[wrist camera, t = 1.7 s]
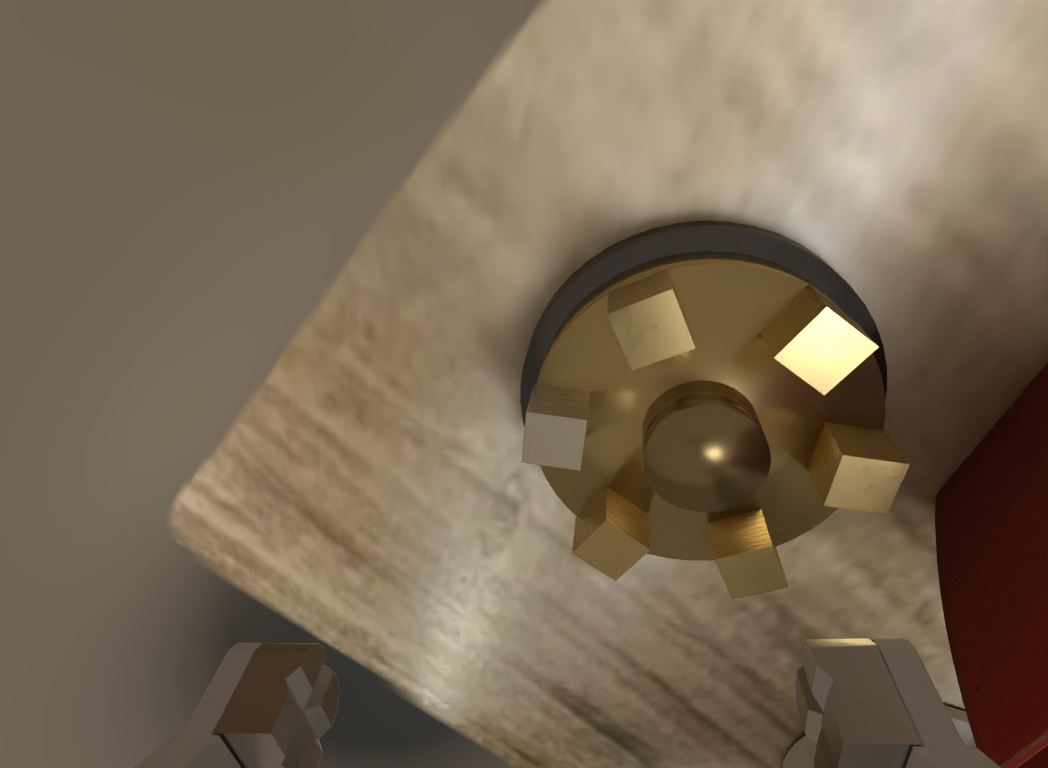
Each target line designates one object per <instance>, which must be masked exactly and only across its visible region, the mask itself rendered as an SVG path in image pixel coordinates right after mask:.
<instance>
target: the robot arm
mask: <svg viewBox="0 0 1048 768" xmlns="http://www.w3.org/2000/svg"><path fill="white" fill-rule="evenodd" d="M800 657H801V660H802V663H803V667H801V668H800V669H799V670H798V671H797V674H796V684H795V686H796V698H797V705H798V710H799V715H800V719H801V722H802V726H803V729H804V733H805V734H806V736H804V737H803V738H801V739H800V740H799V741H798V742H797V743H795V744H794V745H793V747H792V748H791V749H790V750H789V752H788V753H787V755H786V757H785V759H784V761H783V765H782V768H1001V767H999V766H998V765H997V764H996V763H995V762H993V761H992V760H991V759H990V758H989V757H987V756H986V755H985V754H984V753H983V752H981V751H980V750H979V749H978V748H977V747H976V744H975V741H974V738H973V734H972V731H971V728H970V725H969V721H968V717H967V714H966V712H965V711H962V710H959V709H955V708H952V707H949V706H946V705H944V704H943V702H942V700H941V698H940V696H939V694H938V692H937V690H936V688H935V686H934V684H933V682H932V680H931V678H930V676H929V675H928V673H927V671H926V669H925V667H924V665H923V663H922V661H921V659H920V657H919V655H918V653H917V651H916V649H915V647H914V646H913V645H912V644H911V643H910V642H909V641H908V640H906V639H871V640H870V639H869V638H862V639H818V640H804V641H803V642H802V643H801V648H800ZM325 658H326V654H325V652H324V650H323V648H322V646H321V644H292V643H291V644H290V643H289V644H288V643H287V644H286V643H283V644H282V643H237V644H236V645H234V646H233V647H232V648H231V649H230V650H229V651H228V652H227V654H226V656H225V658H224V660H223V661H222V663H221V665H220V667H219V669H218V670H217V672H216V674H215V676H214V677H213V679H212V681H211V683H210V685H209V686H208V688H207V690H206V692H205V694H204V695H203V697H202V699H201V701H200V702H199V704H198V706H197V708H196V710H195V711H194V713H193V715H192V717H191V719H190V720H189V722H188V724H187V726H186V728H185V730H184V731H183V733H182V734H174V735H172V736H171V737H170V738H169V739H168V740H167V741H165V742H164V743H163V744H162V745H161V746H159V747H158V748H157V749H156V750H155V751H154V752H152V753H151V754H150V755H149V756H147V757H146V758H145V759H144V760H143V761H142V762H140V763H139V764H138V765H137V766H136V767H134V768H317V766H318V764H319V761H320V758H321V755H322V750H321V746H320V742H319V738H320V737H321V736H322V735H323V734H325V733H326V732H327V731H328V729H329V728H330V727H332V724H333V721H334V718H335V715H336V712H337V708H338V699H339V685H338V679H337V677H336V674H335V672H334V671H333V670H332V669H330V668H329V667H327V666H326V665H324V664H323V663H324V660H325Z"/></svg>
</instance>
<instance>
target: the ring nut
mask: <svg viewBox="0 0 1048 768" xmlns="http://www.w3.org/2000/svg"><path fill="white" fill-rule="evenodd" d="M877 348H879V346H878V345H877V344H876V343H875V342H874V341H873V340H872V339H871V337H870V336H869V335H868V334H867V333H866V332H865V331H864V330H863V329H862V327H861V326H860V325H859V324H858V323H857V322H856V321H855V320H854V319H852V318H851V317H850V316H849V315H847V314H846V313H845V312H843V311H842V309H841V308H840V307H839V306H838V305H837V304H836V303H835V302H834V300H833V299H831V298H830V297H829V296H828V295H827V294H826V293H825V292H824V291H823V290H821V289H820V288H819V287H818V286H817V285H815V284H814V283H812V282H811V281H809V280H808V279H806V278H805V277H803V276H802V275H800V274H799V273H797V272H795V271H793V270H791V269H788V268H786V267H784V266H782V265H780V264H778V263H775V262H772V261H769V260H765V259H762V258H759V257H756V256H751V255H745V254H739V253H734V252H718V251H701V252H688V253H680V254H675V255H670V256H665V257H661V258H657V259H654V260H651V261H648V262H645V263H642V264H639V265H636V266H634V267H632V268H630V269H628V270H626V271H624V272H622V273H620V274H618V275H616V276H614V277H613V278H611V279H610V280H608V281H606V282H605V283H603V284H602V285H600V286H599V287H597V288H596V289H595V290H594V291H592V292H591V293H590V294H589V295H588V296H587V297H585V298H584V299H583V300H582V301H581V302H580V303H579V304H578V305H577V306H576V307H575V308H574V309H573V310H572V312H571V313H570V314H569V315H568V316H567V317H566V318H565V320H564V321H563V323H562V324H561V326H560V327H559V329H558V330H557V332H556V333H555V335H554V337H553V339H552V341H551V343H550V345H549V347H548V349H547V351H546V354H545V357H544V360H543V363H542V366H541V369H540V373H539V376H538V380H537V384H534V386H533V389H532V393H531V397H530V400H529V404H528V407H527V411H526V420H525V432H524V443H523V455H522V462H523V463H530V464H537V465H540V466H541V468H542V470H543V472H544V475H545V477H546V479H547V480H548V482H549V484H550V485H551V487H552V488H553V490H554V492H555V493H556V494H557V496H558V497H559V498H560V499H561V500H562V502H563V503H564V504H565V505H566V506H567V508H568V509H570V510H571V511H572V512H573V513H574V514H575V515H576V516H577V517H576V520H575V530H574V540H573V549H572V554H574V555H575V556H577V557H579V558H580V559H582V560H583V561H585V562H587V563H588V564H590V565H591V566H593V567H594V568H596V569H598V570H599V571H601V572H602V573H604V574H605V575H607V576H609V577H610V578H612V579H613V580H615V581H616V580H617V579H618V578H619V577H620V576H621V575H623V574H624V573H625V572H626V571H627V570H628V569H629V568H630V567H632V566H633V565H634V564H635V563H636V562H637V561H638V560H640V559H641V558H642V557H643V556H644V555H645V554H646V553H647V554H651V555H656V556H661V557H666V558H673V559H682V560H715V561H716V563H717V566H718V568H719V570H720V572H721V575H722V577H723V579H724V582H725V584H726V586H727V588H728V591H729V593H730V595H731V597H732V599H737V598H741V597H746V596H750V595H755V594H760V593H764V592H769V591H773V590H778V589H782V588H787V587H788V584H787V581H786V578H785V574H784V571H783V568H782V565H781V562H780V558H779V555H778V552H777V549H776V546H778V545H781V544H783V543H786V542H788V541H790V540H792V539H794V538H796V537H798V536H800V535H802V534H803V533H805V532H807V531H809V530H810V529H812V528H813V527H815V526H816V525H818V524H819V523H821V522H822V521H823V520H825V519H826V518H827V517H828V516H830V515H831V514H832V513H833V512H834V511H835V510H837V509H838V508H843V509H850V510H857V511H864V512H871V513H878V514H885V515H887V514H888V512H889V510H890V508H891V506H892V503H893V501H894V499H895V497H896V494H897V492H898V490H899V488H900V485H901V483H902V481H903V479H904V476H905V474H906V472H907V470H908V467H909V465H910V464H909V462H908V461H907V460H906V458H905V457H904V455H903V454H902V453H901V451H900V450H899V448H898V447H897V446H896V444H895V443H894V441H893V440H892V439H891V437H890V436H889V434H888V433H887V432H886V430H883V426H884V420H885V392H884V387H883V381H882V375H881V372H880V370H879V367H878V364H877V361H876V358H875V356H874V354H873V352H874V351H875V350H876V349H877Z"/></svg>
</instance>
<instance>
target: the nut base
mask: <svg viewBox="0 0 1048 768" xmlns="http://www.w3.org/2000/svg"><path fill="white" fill-rule="evenodd" d="M701 251H718V252H734V253H739V254H745V255H751V256H756V257H759V258H762V259H765V260H769V261H772V262H775V263H778V264H780V265H782V266H784V267H786V268H788V269H791V270H793V271H795V272H797V273H799V274H800V275H802V276H803V277H805V278H806V279H808V280H809V281H811V282H812V283H814V284H815V285H817V286H818V287H819V288H820V289H821V290H823V291H824V292H825V293H826V294H827V295H828V296H829V297H830V298H831V299H833V300H834V302H835V303H836V304H837V305H838V306H839V307H840V308H841V309H842V311H843V312H845V313H846V314H847V315H849V316H850V317H851V318H852V319H854V320H855V321H856V322H857V323H858V324H859V325H860V326H861V327H862V329H863V330H864V331H865V332H866V333H867V334H868V335H869V336H870V337H871V339H872V340H873V341H874V342H875V343H876V344H877V345H878V346H879V348H877V349H876V350H875V351H874V352H873V354H874V356H875V358H876V361H877V364H878V367H879V370H880V372H881V375H882V381H883V387H884V392H885V397H886V391H887V366H886V360H885V354H884V348H883V344H882V341H881V338H880V335H879V332H878V330H877V327H876V324H875V322H874V320H873V319H872V317H871V315H870V313H869V311H868V310H867V308H866V306H865V304H864V303H863V302H862V300H861V299H860V298H859V297H858V295H857V294H856V293H855V291H854V290H853V289H852V288H851V286H850V285H849V284H848V283H847V282H846V281H845V280H844V279H843V278H842V277H841V276H840V275H839V274H838V273H836V272H835V271H834V270H833V269H832V268H831V267H830V266H829V265H828V264H827V263H826V262H825V261H823V260H822V259H821V258H820V257H819V256H817V255H816V254H814V253H813V252H811V251H810V250H808V249H807V248H805V247H804V246H802V245H801V244H799V243H797V242H794V241H792V240H790V239H788V238H786V237H784V236H782V235H780V234H777V233H774V232H771V231H768V230H765V229H761V228H758V227H755V226H750V225H744V224H738V223H732V222H718V221H697V222H686V223H677V224H672V225H667V226H663V227H658V228H653V229H650V230H648V231H645V232H642V233H639V234H636V235H633V236H631V237H628V238H626V239H624V240H622V241H620V242H618V243H616V244H614V245H612V246H610V247H608V248H606V249H605V250H603V251H602V252H600V253H599V254H598V255H596V256H595V257H593V258H592V259H590V260H589V261H587V262H586V263H585V264H584V265H583V266H581V267H580V268H579V269H578V270H577V271H576V272H575V273H573V274H572V275H571V276H570V277H569V278H568V279H567V281H566V282H565V283H564V284H563V285H562V286H561V287H560V289H559V290H558V291H557V292H556V293H555V295H554V296H553V298H552V299H551V301H550V302H549V304H548V305H547V307H546V308H545V310H544V311H543V313H542V315H541V318H540V320H539V322H538V324H537V326H536V328H535V330H534V333H533V336H532V339H531V342H530V345H529V349H528V352H527V355H526V358H525V362H524V366H523V373H522V379H521V409H522V416H523V422H524V426H525V420H526V411H527V407H528V404H529V400H530V397H531V393H532V389H533V386H534V384H537V380H538V376H539V373H540V369H541V366H542V363H543V360H544V357H545V354H546V351H547V349H548V347H549V345H550V343H551V341H552V339H553V337H554V335H555V333H556V332H557V330H558V329H559V327H560V326H561V324H562V323H563V321H564V320H565V318H566V317H567V316H568V315H569V314H570V313H571V312H572V310H573V309H574V308H575V307H576V306H577V305H578V304H579V303H580V302H581V301H582V300H583V299H584V298H585V297H587V296H588V295H589V294H590V293H591V292H592V291H594V290H595V289H596V288H597V287H599V286H600V285H602V284H603V283H605V282H606V281H608V280H610V279H611V278H613V277H614V276H616V275H618V274H620V273H622V272H624V271H626V270H628V269H630V268H632V267H634V266H636V265H639V264H642V263H645V262H648V261H651V260H654V259H657V258H661V257H665V256H670V255H675V254H680V253H688V252H701Z"/></svg>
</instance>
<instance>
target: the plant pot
mask: <svg viewBox="0 0 1048 768" xmlns="http://www.w3.org/2000/svg"><path fill="white" fill-rule="evenodd" d="M935 530H936V550H937V565H938V574H939V584H940V592H941V599H942V605H943V612H944V619H945V624H946V629H947V634H948V639H949V644H950V649H951V654H952V658H953V663H954V667H955V671H956V675H957V679H958V683H959V687H960V691H961V695H962V699H963V703H964V707H965V710H966V714H967V717H968V721H969V725H970V728H971V731H972V734H973V738H974V741H975V744H976V747H977V748H978V749H979V750H980V751H981V752H983V753H984V754H985V755H986V756H987V757H989V758H990V759H991V760H992V761H993V762H995V763H996V764H997V765H998V766H999V767H1001V768H1048V364H1047V365H1046V366H1045V368H1044V369H1043V370H1042V371H1041V373H1040V374H1039V375H1038V376H1037V377H1036V378H1035V380H1034V381H1033V382H1032V383H1031V384H1030V385H1029V387H1028V388H1027V389H1026V390H1025V391H1024V393H1023V394H1022V395H1021V396H1020V397H1019V399H1018V400H1017V401H1016V402H1015V403H1014V404H1013V406H1012V407H1011V408H1010V409H1009V410H1008V411H1007V413H1006V414H1005V415H1004V416H1003V417H1002V418H1001V420H1000V421H999V422H998V423H997V424H996V425H995V427H994V428H993V429H992V430H991V431H990V433H989V434H988V435H987V436H986V437H985V438H984V440H983V441H982V442H981V443H980V444H979V446H978V447H977V448H976V449H975V450H974V452H973V453H972V454H971V455H970V456H969V457H968V458H967V460H966V461H965V462H964V463H963V464H962V465H961V467H960V468H959V469H958V470H957V471H956V473H955V474H954V475H953V476H952V477H951V479H950V480H949V481H948V482H947V483H946V484H945V485H944V487H943V488H942V489H941V490H940V491H939V493H938V495H937V497H936V509H935Z"/></svg>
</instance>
